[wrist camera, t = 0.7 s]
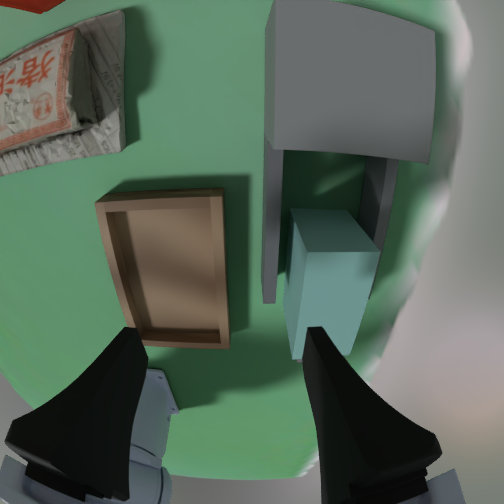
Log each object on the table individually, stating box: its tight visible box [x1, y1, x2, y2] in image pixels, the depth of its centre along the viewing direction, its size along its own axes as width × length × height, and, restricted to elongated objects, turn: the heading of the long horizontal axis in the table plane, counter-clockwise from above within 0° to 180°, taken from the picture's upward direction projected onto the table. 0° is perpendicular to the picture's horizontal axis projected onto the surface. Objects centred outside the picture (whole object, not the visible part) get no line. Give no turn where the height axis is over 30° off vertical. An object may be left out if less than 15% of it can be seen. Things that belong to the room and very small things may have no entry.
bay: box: [261, 0, 436, 304], centre depth 15 cm, size 17×8×6 cm, turn 0°
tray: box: [95, 188, 231, 349], centre depth 20 cm, size 13×8×2 cm, turn 0°
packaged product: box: [0, 10, 126, 176], centre depth 12 cm, size 18×5×10 cm
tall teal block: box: [283, 208, 380, 363], centre depth 19 cm, size 9×4×6 cm, turn 0°
